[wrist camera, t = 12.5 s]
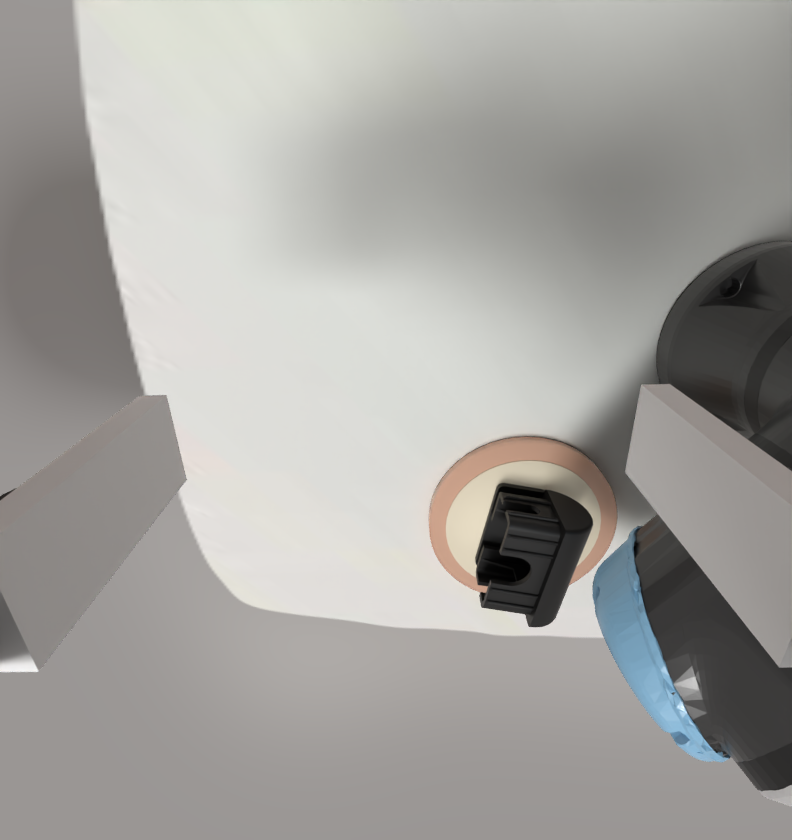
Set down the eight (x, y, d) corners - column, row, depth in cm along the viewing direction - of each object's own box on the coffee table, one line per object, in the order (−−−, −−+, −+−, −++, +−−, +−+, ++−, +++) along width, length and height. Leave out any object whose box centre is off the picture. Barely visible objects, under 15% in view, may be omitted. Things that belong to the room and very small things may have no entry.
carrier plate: (626, 437, 43) (634, 445, 41) (595, 588, 50) (601, 601, 48) (430, 436, 44) (431, 444, 42) (427, 586, 50) (427, 598, 49)
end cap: (544, 577, 47) (564, 633, 41) (472, 565, 47) (481, 621, 41) (578, 489, 43) (605, 537, 37) (499, 476, 43) (513, 523, 37)
